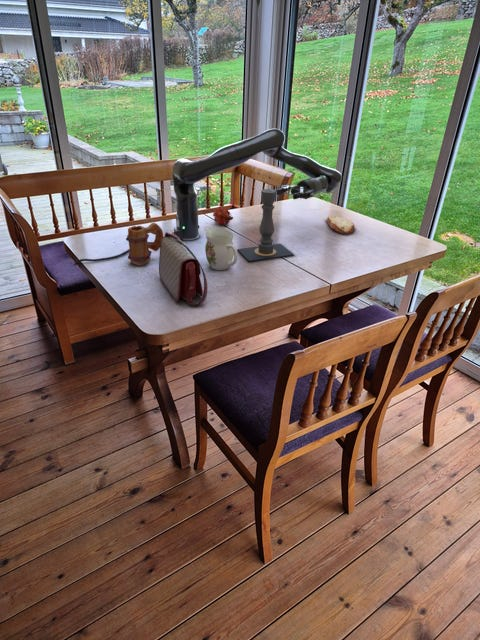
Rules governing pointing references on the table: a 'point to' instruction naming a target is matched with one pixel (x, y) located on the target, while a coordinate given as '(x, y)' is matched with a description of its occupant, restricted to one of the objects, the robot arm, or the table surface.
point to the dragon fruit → (222, 215)
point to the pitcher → (220, 248)
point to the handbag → (180, 270)
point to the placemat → (254, 255)
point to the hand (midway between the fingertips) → (285, 194)
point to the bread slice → (340, 225)
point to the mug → (143, 242)
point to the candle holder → (267, 221)
